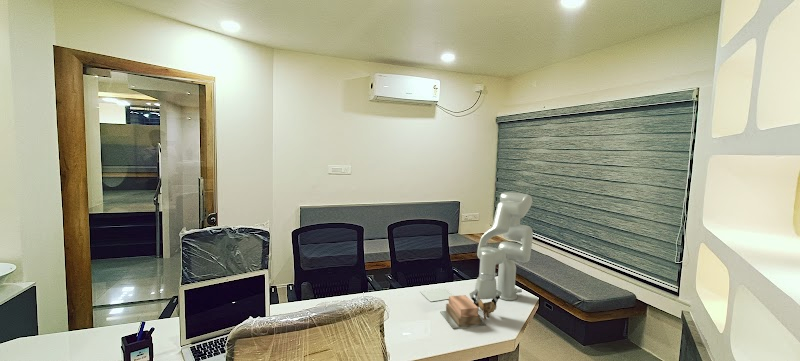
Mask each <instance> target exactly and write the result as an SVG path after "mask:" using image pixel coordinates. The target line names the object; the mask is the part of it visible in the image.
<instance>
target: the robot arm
mask: <svg viewBox="0 0 800 361" xmlns="http://www.w3.org/2000/svg"><path fill="white" fill-rule="evenodd" d="M532 204H533V198H532V196H531V195H530V194H527V193H519V192H511V191H510V192H507V191H503V192H501V193H500V195H499V202H498V203H497V206H496V208H495V209H496V210H495V213H494V216H493V221H492V225H491V227H490V228H489V229H487V230H486V231H485V232H484V233H483V234H482V236H480V238H479V243H478V246H477V249H476V250H477V251H476V256H477V259H479V274H478V277H477V278H476V282H475V286H474V290H473V291H471V292H469V297H470V300H471V301H472V302H473V303H474V304H475V305H476V306H477V307H478V305H479V304H478V301H479V300H491V301H490V302H494V305H495V306H497V302H498V301H499V299H500V300H504V301H515V300H517V299H518V295H517V294H519V293H520V294H521V293H523V290H522V288H517V287H516V276H517V266H516V263H515V261H517V262H520V263H521V262H522V263H527V262H529V261H530V259H531V253H532V246H533V245H532V244H533V238H534V235H533V229H532V227H531V226H529V225H526V224H521V219H524V217H525V216H526V215H527V213H528V212H529V210H530V209H531V207H532ZM499 235H502V236H503V238H505V239H507V240H509V241H501V242H500V243H499V244H498V246H497V247H492V246H489V245H488V246H487V243H488V242H489V240H491V239H492V238H493V237H496V236H499ZM510 240H511V241H510ZM512 241H515V242H512ZM517 242H520V243H517ZM497 265H498V272H496V266H497ZM496 276H497V280H496ZM478 308H479V307H478ZM496 309H497V308H496ZM496 309H495V310H494V311H496Z"/></svg>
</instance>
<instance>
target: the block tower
mask: <svg viewBox="0 0 800 361" xmlns="http://www.w3.org/2000/svg"><path fill="white" fill-rule="evenodd" d="M478 309H479V310H480V307H477V306H476V305H475V304H474V301H473V300H472V299H471V298H469V297H468V296H467V295H466V294H461V295H454V296H449V299H448V303H446V304H445V310H441V311H440V312H439V313H440V314H441V316H442V317H443V319H444V320H445V321H446V323H448V324H449V327H450V328H452V330H456V329H467V328H476V327H484V326H485V327H487V323H486V322H485V320H484V319H482V318H481V315H480V314H479V310H478ZM483 320H484V321H483Z"/></svg>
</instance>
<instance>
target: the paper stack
mask: <svg viewBox="0 0 800 361" xmlns="http://www.w3.org/2000/svg"><path fill="white" fill-rule="evenodd" d="M419 292H420V293H421V294H422V295H423V296H424V297H425V298H426V299H427V300H428V301H429V302H436V301H443V300H449V296H455V294H453V293H452V292H450V291H449V290H448V289H447V288H446V287H441V288H433V289H428V290H427V289H426V290H420V291H419Z"/></svg>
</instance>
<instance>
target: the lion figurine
mask: <svg viewBox="0 0 800 361" xmlns="http://www.w3.org/2000/svg"><path fill="white" fill-rule="evenodd" d="M478 304H479V305H478V308H479V309H478V311H480V310H481V311H482V312H483V320H487V318H488V319H490V316H489V315H491V313H494V312H495V311H496V310H495V309H497V305H496V306H495V305H494V302H491V301H487V302H483V300H482V299H480V300H479V301H478Z"/></svg>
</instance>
